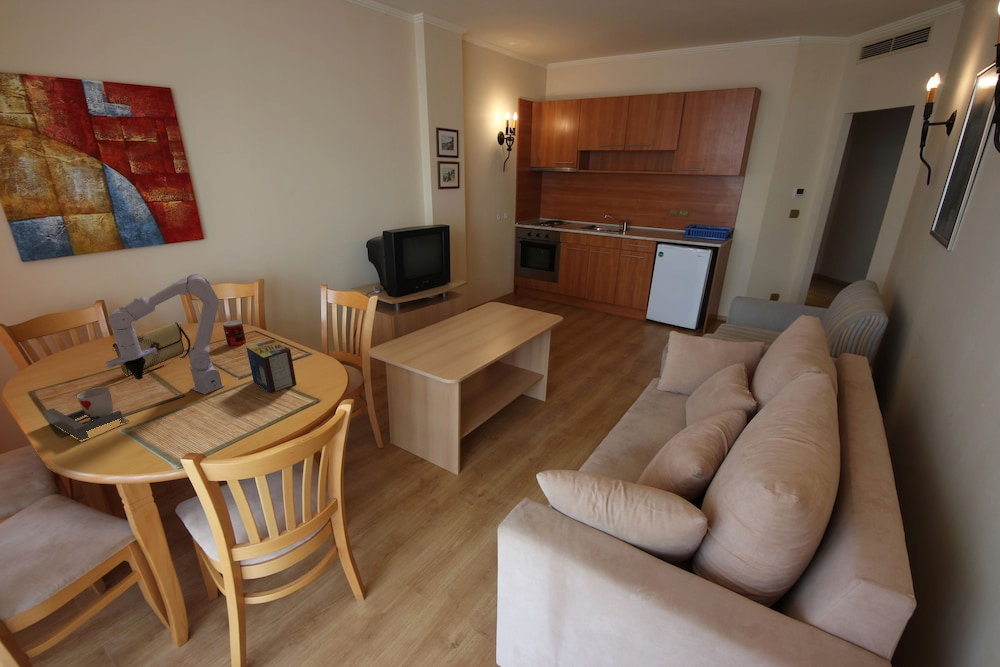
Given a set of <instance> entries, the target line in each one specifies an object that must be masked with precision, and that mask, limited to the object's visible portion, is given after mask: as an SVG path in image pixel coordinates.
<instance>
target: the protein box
mask: <svg viewBox="0 0 1000 667" xmlns="http://www.w3.org/2000/svg"><path fill="white" fill-rule="evenodd" d="M246 352H247V358H248V362H249V365H250V370H251V376H252V380H253V383H254V384H256V385H258V386H259V385H260V386H259V387H261V388H262V389H263V388H264V390H265V391H266V390H267V391H266V392H267V393H271V394H274V393H276V391H277V392H278V390H280V391H282V390H285V389H287V388H291V387H293V386H296V385H297V379H296V372H295V368H294V363H293V358H292V357H293V356H292V352H291V348H289V347H287V346H285V345H283V344H281V343H279V342H278V341H275V340H274V339H271V340H266V341H262V342H260V343H255V344H251V345H249V346H246ZM273 392H274V393H273Z"/></svg>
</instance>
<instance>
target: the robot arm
mask: <svg viewBox="0 0 1000 667" xmlns="http://www.w3.org/2000/svg"><path fill="white" fill-rule="evenodd" d="M189 293H190V294H191V295H193V297H194V296H195V297H196V298H198V299H199V300H200V301H201V302H202V303H203V304H202V307H201V313H200V315H199V316H200V317H199V322H198V326H197V331H196V336H195V341H194V343H193V346H192V348H190V351H189V353H188V355H187V356H188V359H189V364H190V367H189V368H190V372H191V376H192V381H193V384H194V386H191V387H190V389H191V390H193V391H196V392H198V393H201V394H202V395H206V394H208V393H211V392H213V391H216V390H219V389H221V388H223V387H226V384H224V383H222V379H221V378H222V377H221V374H220V372H219V371H218V370H217V369H216V368H215V367H214V365H213V362H212V361H211V358H210V352H211V351H210V348H211V347H210V346H211V341H212V337H213V333H214V332H213V331H214V326H215V322H216V317H217V315H218V314H217V313H218V310H219V309H218V308H219V303H220V299H219V298H218V296H217V294H216V292H215V290H214V289H213V286H212V285H211V283H210V281H208V280H207V279H206V278H205V277H204V276H203V275H202V274H197V273H193V274H190V275H188V276H187V277H183V278H181V279H179V280H177V281H175V282H173V283H172V284H170V285H168V286H166V287H165V288H163V289H162V290H160V291H158V292H156V293H155V294H153V295H150V296H149V297H143V296H142V297H135V298H133V301H132V302H130V303H128V304H125V306H123V305H122V306H119V307H118V309H114V310H112V311H111V312H110V313H109V316H108V320H107V321H108V325H110V327H112V328H111V330H112V331H113V336H114V339H115V343H117V346H118V349H119V352H120V355H121V356H120V357H118V356H117V357H115V358H113V359H111V360H108V361H105V365H106V367H107V368H108V369H112V368H114V367H116V366H121V365H120V364H123V365H125V366H126V367H127V368H128V369H129V370H130V371H131V372H132V375H133V376H134V378H135V379H136V380H142V379H143V378H144V375H143V374H144V373H143V372H144V369H143V368H144V364H145V362H146V361H145V359H143V357H146V356H149V355H152V354H158V353H157V349H156V348H151V349H146V350H141V348H140V345H139V342H138V339H137V336H138V335H137V332H136V330H135V329H134V326H133V323H132V322H136V321H138V320H140V319H142V318H143V317H145V316H147V315H150V314H151V313H152V312H154V311H155V310H156V306H158V305H160V304H161V303H164V302H166V301H168V300H170V299H172V298H174V297H176V296H178V295H180V296H189Z"/></svg>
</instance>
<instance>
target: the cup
mask: <svg viewBox="0 0 1000 667" xmlns="http://www.w3.org/2000/svg"><path fill="white" fill-rule="evenodd" d="M76 398H77V400H78V402H79V405H80V407H81V408H82V409H83V410H84V411H85V413H86V414H87V416H88V417H87V418H89V419H90V421H92V420H95V419H98V418H101V417H103V416H106V415H108V414H111V413H114V412H113V411H114V406H113V399H112V394H111V392H110V388H109V387H107V386H98V387H93V388H90V389H89V388H88V389H86V390H84V391H81V392H80V393H78V394H76Z"/></svg>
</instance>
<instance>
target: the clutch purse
mask: <svg viewBox="0 0 1000 667" xmlns="http://www.w3.org/2000/svg"><path fill="white" fill-rule="evenodd" d="M181 326H182V325H181V324H179V323H178V322H177V321H175V322H173V323H170V324H166V325H164V326H161V327H159V328H156V329H153V330H150V331H147V332H144V333H142V334H138V335H136V336H137V339H138V342H139V345H140V348H141V350H146V349H151V348H156V349H157V353H158V354H152V355H149V356H146V357H143V359H145V361H146V362H145V364H144V368H146V369H148V368H150V367H152V366H155V365H157V364H160V363H162V362H164V361H166V359H167V360H169V359H171V358H174V357H176V356H178V355H180V354H184V353H185V347H184V343H183V336H184V338H185V339H186V340H187V345H188V346H187V349H186V350H187V351H186V353H185V354H184V355H182V356H181V357H180V358H182V359H184V358H185V357H186V356H188V354H189V351H190V350H191V340H190V338H189V336H188V335H187V333H186V332H185V330H183V328H182V327H181ZM112 347H113V348H111V350H112V351H114V352H115V353H116V356H117V357H120V356H121V355H120V352H119V349H118V346H117V343H116V342H115V343H113V344H112ZM183 352H184V353H183ZM173 356H174V357H173ZM164 365H165V364H163V365H160V366H157V367H155V368H151V369H148V370H145V369H144V368H143V374H144V372H145V373H147V372H146V371H149V372H153V371H155V370H158V369H161V368H163V367H165V366H164ZM119 366H120V368H121V370H122V373H123V375H124V374H126V375H129V374H131V373H132V372H131V371H130V370H129V369H128V368H127V367H126V366H125V365H123V364H120V365H119ZM162 366H163V367H162ZM147 367H148V368H147ZM144 370H145V371H144ZM152 370H153V371H152ZM129 376H130V375H129Z"/></svg>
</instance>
